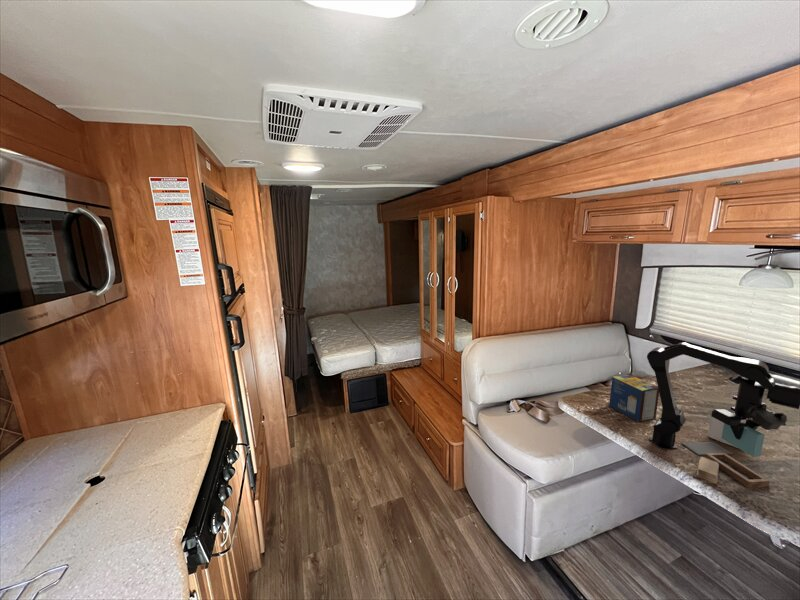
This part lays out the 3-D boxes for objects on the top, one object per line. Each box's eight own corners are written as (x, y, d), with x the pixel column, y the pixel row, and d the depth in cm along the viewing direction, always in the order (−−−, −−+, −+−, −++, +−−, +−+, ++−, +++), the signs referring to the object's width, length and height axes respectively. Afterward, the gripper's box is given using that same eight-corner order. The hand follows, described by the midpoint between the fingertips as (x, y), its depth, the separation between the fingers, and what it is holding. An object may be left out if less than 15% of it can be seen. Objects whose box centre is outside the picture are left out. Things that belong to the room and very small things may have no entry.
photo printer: (705, 436, 129) (710, 409, 127) (709, 433, 131) (714, 406, 129) (741, 450, 120) (746, 421, 118) (744, 446, 122) (750, 418, 120)
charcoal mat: (698, 455, 118) (698, 454, 117) (681, 443, 124) (681, 442, 124) (731, 454, 118) (731, 453, 118) (712, 442, 125) (713, 441, 125)
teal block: (753, 456, 103) (757, 435, 101) (721, 438, 112) (725, 418, 111) (760, 456, 103) (764, 434, 101) (727, 437, 112) (731, 417, 111)
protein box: (624, 402, 157) (628, 373, 154) (656, 418, 142) (660, 387, 140) (608, 405, 155) (611, 376, 152) (638, 422, 140) (642, 390, 137)
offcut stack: (696, 477, 108) (697, 469, 107) (699, 462, 115) (700, 454, 114) (716, 485, 104) (718, 477, 103) (718, 469, 111) (719, 461, 111)
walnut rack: (747, 487, 102) (748, 482, 102) (704, 458, 116) (705, 453, 116) (768, 486, 102) (769, 481, 102) (723, 457, 116) (724, 452, 116)
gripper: (750, 410, 96) (741, 455, 99) (807, 408, 97) (797, 453, 99) (713, 393, 107) (706, 434, 110) (765, 391, 108) (756, 432, 110)
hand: (741, 438), depth 107 cm, fingers closed on teal block, 2 cm apart
